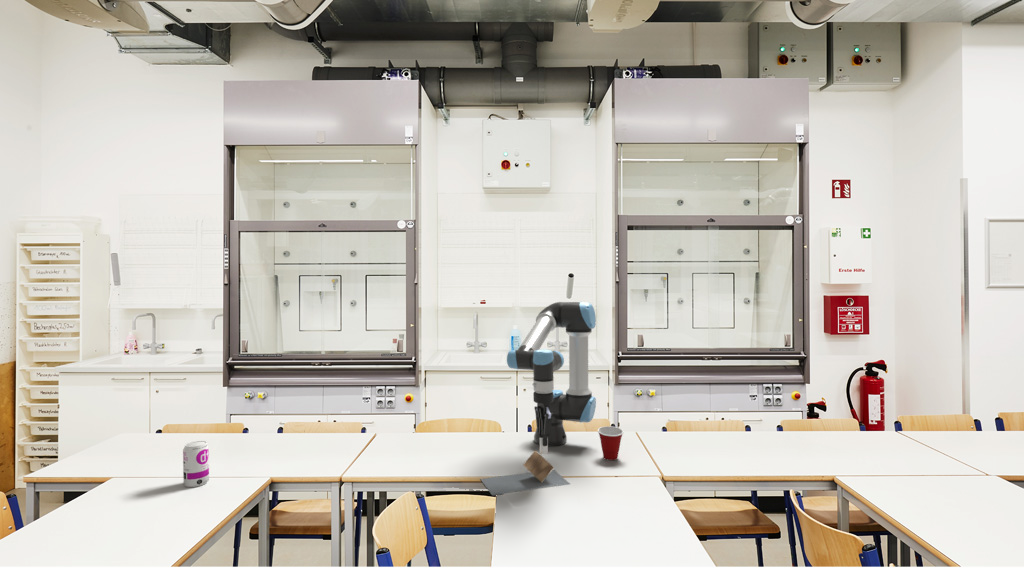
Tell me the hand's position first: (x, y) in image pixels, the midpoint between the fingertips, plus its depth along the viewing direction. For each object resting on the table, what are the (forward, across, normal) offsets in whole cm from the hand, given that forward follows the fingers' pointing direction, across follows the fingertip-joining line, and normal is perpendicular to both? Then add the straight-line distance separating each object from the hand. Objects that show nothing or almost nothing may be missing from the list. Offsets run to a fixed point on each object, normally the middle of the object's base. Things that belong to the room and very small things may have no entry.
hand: (543, 453), depth 206 cm
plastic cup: (+10, -13, +36) cm, 39 cm away
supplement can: (+10, -40, -124) cm, 131 cm away
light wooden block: (+7, 0, 0) cm, 7 cm away
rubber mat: (+10, 0, -8) cm, 12 cm away
